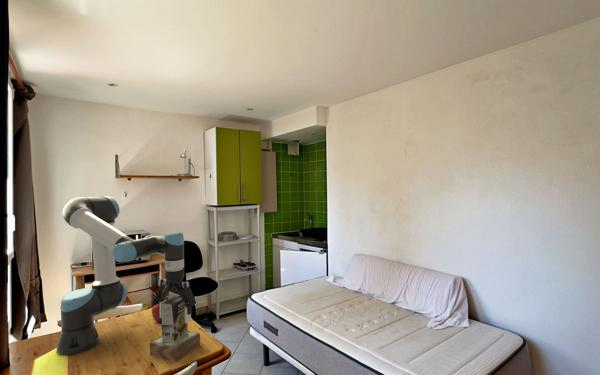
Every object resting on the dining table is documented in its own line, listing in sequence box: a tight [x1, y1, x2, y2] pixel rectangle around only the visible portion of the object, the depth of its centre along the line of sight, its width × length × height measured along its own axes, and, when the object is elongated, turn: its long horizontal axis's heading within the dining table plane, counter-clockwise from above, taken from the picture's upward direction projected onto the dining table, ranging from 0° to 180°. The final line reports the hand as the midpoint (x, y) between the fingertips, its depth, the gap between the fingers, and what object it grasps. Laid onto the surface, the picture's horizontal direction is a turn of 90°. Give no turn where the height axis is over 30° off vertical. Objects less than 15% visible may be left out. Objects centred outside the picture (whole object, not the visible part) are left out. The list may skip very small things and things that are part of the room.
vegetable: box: [151, 303, 162, 322], centre depth 164 cm, size 11×10×10 cm
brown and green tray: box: [149, 330, 201, 362], centre depth 135 cm, size 14×14×5 cm
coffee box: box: [161, 295, 188, 343], centre depth 134 cm, size 9×6×16 cm
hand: (175, 319), depth 135 cm, fingers open, 13 cm apart
